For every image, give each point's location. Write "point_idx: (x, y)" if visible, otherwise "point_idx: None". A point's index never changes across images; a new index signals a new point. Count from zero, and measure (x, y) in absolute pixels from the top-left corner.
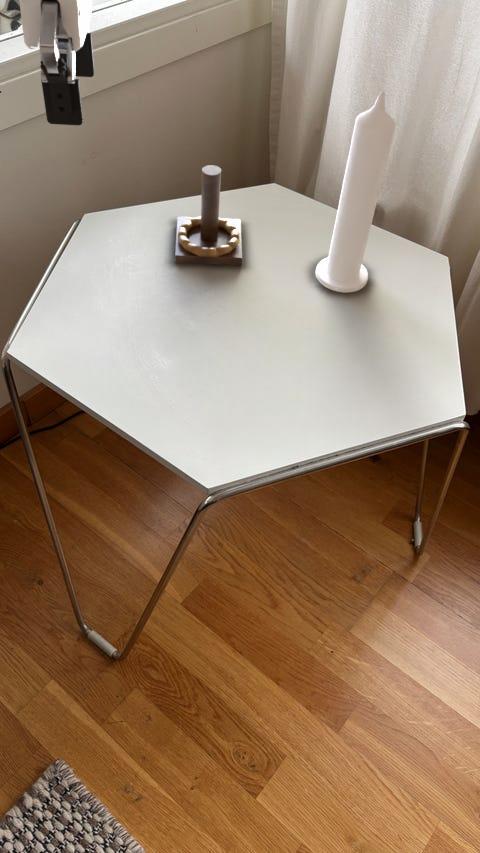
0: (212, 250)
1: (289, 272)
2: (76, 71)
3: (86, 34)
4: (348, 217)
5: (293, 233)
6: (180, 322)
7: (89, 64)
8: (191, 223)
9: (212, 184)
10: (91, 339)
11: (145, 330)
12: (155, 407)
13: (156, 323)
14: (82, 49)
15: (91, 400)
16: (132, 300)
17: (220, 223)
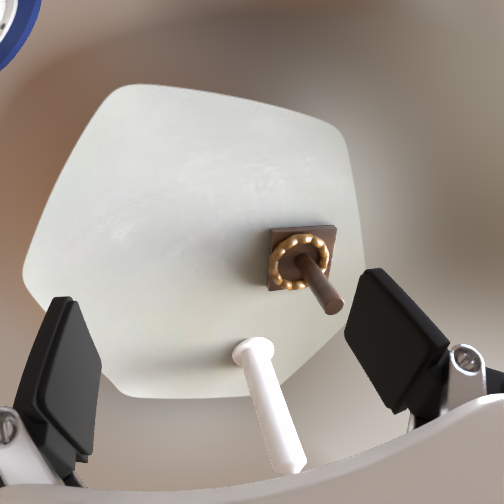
0: (272, 271)
1: (257, 320)
2: (359, 311)
3: (401, 407)
4: (256, 399)
5: (309, 318)
6: (177, 242)
7: (358, 353)
8: (318, 247)
9: (320, 302)
10: (140, 160)
11: (160, 211)
12: (68, 234)
13: (172, 220)
14: (382, 371)
15: (63, 179)
16: (206, 192)
17: None
